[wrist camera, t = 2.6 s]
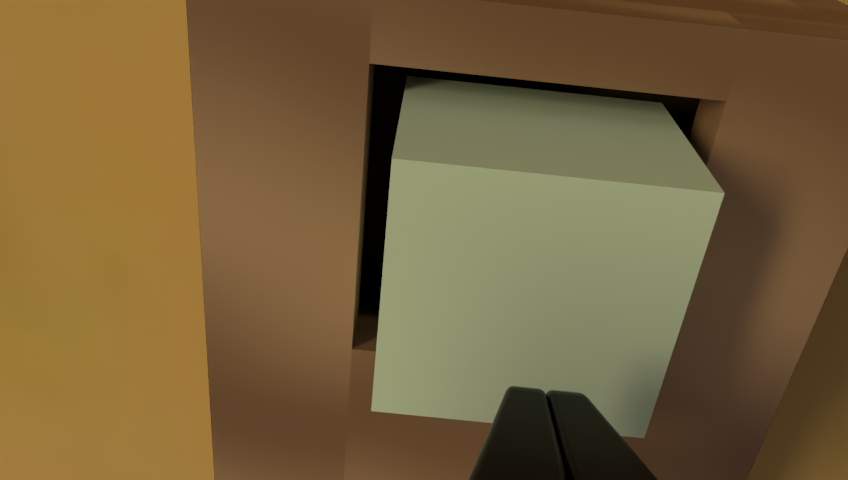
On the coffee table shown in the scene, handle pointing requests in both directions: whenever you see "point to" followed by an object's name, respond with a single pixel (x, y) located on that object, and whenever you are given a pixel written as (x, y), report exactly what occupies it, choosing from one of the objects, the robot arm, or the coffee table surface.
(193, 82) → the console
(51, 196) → the coffee table surface
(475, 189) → the pale green block
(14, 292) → the coffee table surface
